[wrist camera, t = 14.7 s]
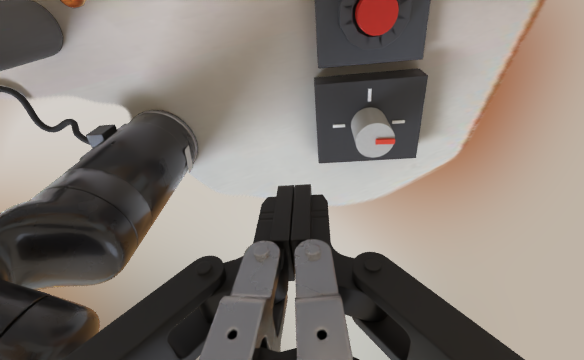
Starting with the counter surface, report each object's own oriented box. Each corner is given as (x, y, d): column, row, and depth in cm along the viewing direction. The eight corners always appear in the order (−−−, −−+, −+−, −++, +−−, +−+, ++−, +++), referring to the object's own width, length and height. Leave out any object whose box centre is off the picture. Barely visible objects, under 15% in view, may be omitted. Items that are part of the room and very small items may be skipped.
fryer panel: (318, 152, 41) (318, 164, 38) (314, 77, 35) (314, 85, 33) (409, 146, 40) (416, 158, 37) (419, 68, 34) (428, 75, 32)
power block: (317, 63, 34) (318, 72, 31) (312, -44, 29) (312, -48, 26) (416, 54, 33) (428, 63, 30) (430, -59, 28) (447, -65, 25)
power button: (354, 34, 29) (357, 37, 28) (355, -9, 27) (357, -8, 26) (392, 31, 29) (396, 33, 28) (396, -13, 27) (400, -13, 26)
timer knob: (350, 139, 36) (354, 159, 32) (351, 107, 34) (357, 124, 30) (383, 138, 36) (392, 158, 32) (387, 106, 34) (398, 123, 30)
